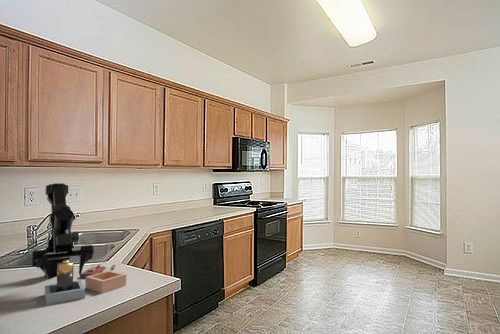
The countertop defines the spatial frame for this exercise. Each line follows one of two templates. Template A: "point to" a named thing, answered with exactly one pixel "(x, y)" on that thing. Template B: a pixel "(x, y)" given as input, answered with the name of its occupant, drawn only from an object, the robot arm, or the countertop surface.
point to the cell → (65, 276)
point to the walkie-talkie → (95, 270)
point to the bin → (105, 281)
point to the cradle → (64, 293)
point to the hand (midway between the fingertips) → (65, 276)
